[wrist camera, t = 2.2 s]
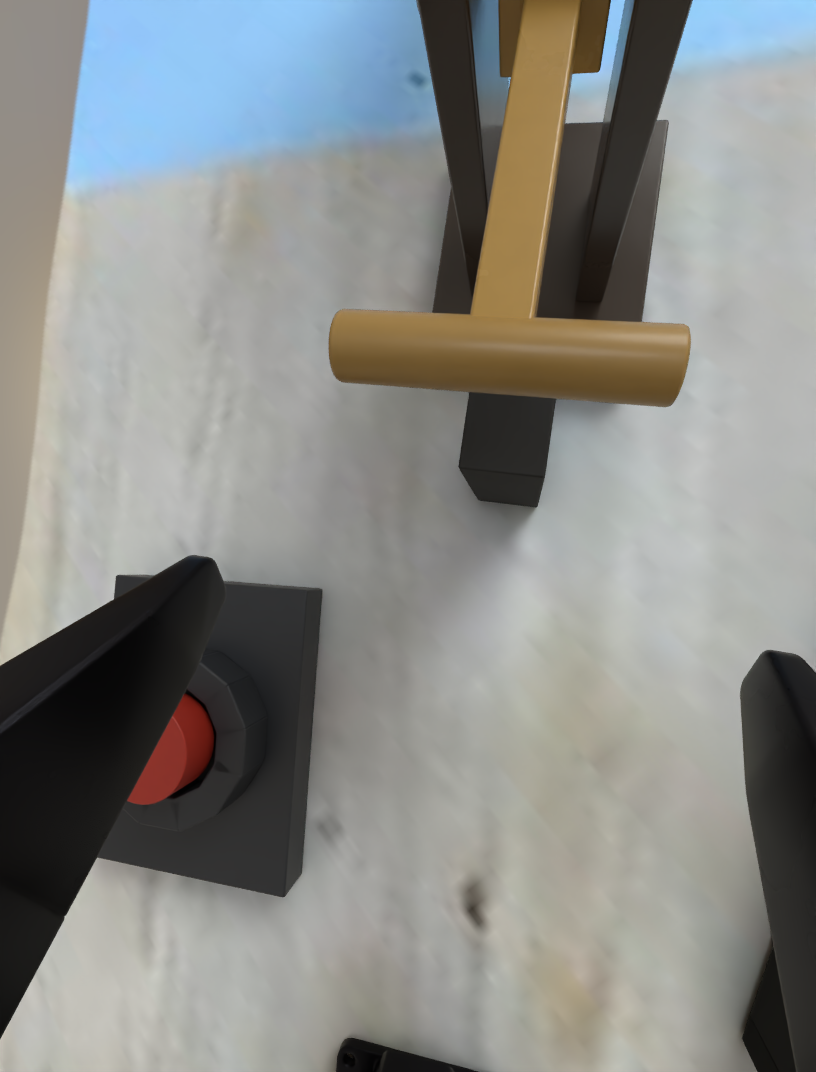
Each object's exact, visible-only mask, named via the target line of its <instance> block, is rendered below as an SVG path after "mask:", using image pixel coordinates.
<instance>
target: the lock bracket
mask: <svg viewBox="0 0 816 1072" xmlns="http://www.w3.org/2000/svg"><path fill="white" fill-rule="evenodd" d="M692 1H693V0H625V3H624V9H623V14H622V20H621V25H620V31H619V36H618V42H617V48H616V53H615V59H614V64H613V70H612V75H611V81H610V86H609V92H608V97H607V103H606V108H605V114H604V119H603V122H596V123H566V124H565V127H564V134H563V140H562V147H561V154H560V160H559V167H558V174H557V181H556V187H555V194H554V201H553V208H552V214H551V221H550V228H549V234H548V241H547V248H546V255H545V261H544V268H543V275H542V282H541V288H540V295H539V302H538V308H537V315H536V317H538V318H560V319H583V320H605V321H628V322H642V316H643V309H644V301H645V294H646V286H647V279H648V272H649V264H650V257H651V250H652V242H653V235H654V227H655V220H656V213H657V205H658V198H659V190H660V183H661V176H662V168H663V161H664V154H665V146H666V139H667V131H668V124H669V123H668V120H657V118H658V114H659V111H660V108H661V104H662V101H663V98H664V94H665V91H666V88H667V84H668V81H669V78H670V74H671V71H672V68H673V64H674V61H675V58H676V54H677V51H678V48H679V44H680V41H681V38H682V34H683V31H684V28H685V24H686V21H687V18H688V14H689V11H690V8H691V4H692ZM416 2H417V7H418V11H419V14H420V18H421V24H422V29H423V35H424V40H425V46H426V51H427V57H428V62H429V67H430V73H431V78H432V84H433V89H434V95H435V100H436V106H437V111H438V117H439V122H440V128H441V133H442V139H443V144H444V150H445V155H446V160H447V166H448V171H449V177H450V182H451V191H450V198H449V205H448V211H447V218H446V225H445V231H444V238H443V245H442V251H441V258H440V265H439V272H438V278H437V285H436V292H435V298H434V305H433V312H432V313H448V314H470V312H471V306H472V300H473V294H474V288H475V283H476V277H477V271H478V265H479V259H480V254H481V248H482V242H483V236H484V230H485V225H486V219H487V213H488V207H489V201H490V196H491V190H492V184H493V178H494V173H495V167H496V161H497V155H498V149H499V144H500V138H501V132H502V126H503V120H504V115H505V109H506V103H507V97H508V91H509V88H508V77H500V65H499V14H498V0H416Z"/></svg>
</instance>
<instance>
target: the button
mask: <svg viewBox="0 0 816 1072" xmlns="http://www.w3.org/2000/svg"><path fill="white" fill-rule="evenodd" d="M213 748H214V731H213V727H212V723H211V720H210V718H209V716H208V714H207V712H206V711H205V709H204V708H203V706H202V705H201V704H200V703H199V702H198V701H197V700H195V699H194V698H193V697H191V696H189V695H187V694H184V695H183V697H182V699H181V701H180V703H179V705H178V707H177V709H176V710H175V712H174V714H173V716H172V718H171V720H170V722H169V724H168V725H167V727H166V729H165V731H164V733H163V735H162V737H161V739H160V740H159V742H158V744H157V746H156V748H155V750H154V752H153V754H152V755H151V757H150V759H149V761H148V763H147V765H146V767H145V768H144V770H143V772H142V774H141V776H140V778H139V780H138V782H137V783H136V785H135V787H134V789H133V791H132V793H131V795H130V797H129V798H128V800H127V801H129V802H131V803H134V804H140V805H149V804H154V803H157V802H160V801H162V800H164V799H166V798H167V797H169V796H170V795H172V794H173V793H175V792H177V791H178V790H180V789H181V788H183V787H184V786H186V785H187V784H189V783H191V782H192V781H194V780H195V779H196V778H198V777H199V776H200V775H201V774H202V773H203V771H204V770H205V769H206V767H207V765H208V764H209V761H210V759H211V756H212V753H213Z"/></svg>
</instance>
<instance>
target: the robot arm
mask: <svg viewBox="0 0 816 1072" xmlns="http://www.w3.org/2000/svg"><path fill="white" fill-rule="evenodd" d="M225 599H226V586H225V584H224V581H223V579H222V576H221V574H220V572H219V569H218V567H217V564H216V562H215V561H214V560H213V559H212V558H209V557H203V556H197V555H191V556H188V557H186V558H184V559H182V560H181V561H179V562H177V563H175V564H174V565H172V566H170V567H169V568H167V569H165V570H163V571H162V572H160V573H158V574H157V575H155V576H153V577H151V578H150V579H148V580H146V581H145V582H143V583H141V584H139V585H138V586H136V587H134V588H133V589H131V590H129V591H128V592H126V593H124V594H122V595H121V596H119V597H117V598H116V599H114V600H112V601H110V602H109V603H107V604H105V605H104V606H102V607H100V608H98V609H97V610H95V611H93V612H92V613H90V614H88V615H86V616H85V617H83V618H81V619H80V620H78V621H76V622H74V623H73V624H71V625H69V626H68V627H66V628H64V629H62V630H61V631H59V632H57V633H56V634H54V635H52V636H50V637H49V638H47V639H45V640H44V641H42V642H40V643H38V644H37V645H35V646H33V647H32V648H30V649H28V650H26V651H25V652H23V653H21V654H20V655H18V656H16V657H14V658H13V659H11V660H9V661H8V662H6V663H4V664H2V665H1V666H0V1039H1V1037H2V1035H3V1033H4V1031H5V1029H6V1027H7V1025H8V1024H9V1022H10V1020H11V1018H12V1016H13V1014H14V1012H15V1011H16V1009H17V1007H18V1005H19V1003H20V1001H21V999H22V997H23V996H24V994H25V992H26V990H27V988H28V986H29V984H30V982H31V981H32V979H33V977H34V975H35V973H36V971H37V969H38V968H39V966H40V964H41V962H42V960H43V958H44V956H45V954H46V953H47V951H48V949H49V947H50V945H51V943H52V941H53V939H54V938H55V936H56V934H57V932H58V930H59V928H60V926H61V925H62V923H63V921H64V916H66V914H67V913H68V911H69V909H70V907H71V905H72V903H73V901H74V900H75V898H76V896H77V894H78V892H79V890H80V888H81V886H82V885H83V883H84V881H85V879H86V877H87V875H88V873H89V871H90V870H91V868H92V866H93V864H94V862H95V860H96V858H97V856H98V855H99V853H100V851H101V849H102V847H103V845H104V843H105V841H106V840H107V838H108V836H109V834H110V832H111V830H112V828H113V827H114V825H115V823H116V821H117V819H118V817H119V815H120V813H121V812H122V810H123V808H124V806H125V804H126V802H127V800H128V798H129V797H130V795H131V793H132V791H133V789H134V787H135V785H136V783H137V782H138V780H139V778H140V776H141V774H142V772H143V770H144V768H145V767H146V765H147V763H148V761H149V759H150V757H151V755H152V754H153V752H154V750H155V748H156V746H157V744H158V742H159V740H160V739H161V737H162V735H163V733H164V731H165V729H166V727H167V725H168V724H169V722H170V720H171V718H172V716H173V714H174V712H175V710H176V709H177V707H178V705H179V703H180V701H181V699H182V697H183V695H184V694H185V692H186V690H187V688H188V686H189V684H190V682H191V680H192V678H193V676H194V674H195V672H196V670H197V668H198V666H199V663H200V661H201V659H202V656H203V654H204V651H205V649H206V646H207V644H208V641H209V639H210V636H211V634H212V632H213V629H214V627H215V624H216V622H217V619H218V617H219V614H220V612H221V609H222V607H223V604H224V602H225ZM740 699H741V717H742V735H743V752H744V770H745V784H746V795H747V802H748V808H749V814H750V820H751V825H752V831H753V836H754V842H755V847H756V853H757V858H758V864H759V869H760V875H761V880H762V886H763V891H764V897H765V902H766V908H767V913H768V919H769V924H770V930H771V935H772V941H773V946H774V952H775V957H776V963H777V968H778V974H779V979H780V985H781V990H782V996H783V1001H784V1007H785V1012H786V1018H787V1023H788V1029H789V1034H790V1040H791V1045H792V1051H793V1056H794V1062H795V1067H796V1072H816V672H815V671H814V670H813V669H812V668H811V667H810V666H809V665H808V664H807V663H806V661H805V660H803V659H802V658H801V657H800V656H798V655H796V654H792V653H786V652H780V651H774V650H766V651H764V652H763V653H762V654H761V655H760V656H759V658H758V659H757V660H756V662H755V663H754V665H753V666H752V668H751V669H750V671H749V672H748V674H747V675H746V677H745V678H744V680H743V682H742V685H741V691H740ZM347 1053H350V1054H352V1055H353V1056H354V1057H355V1058H351V1057H350V1056H349V1055H348V1054H347ZM336 1072H478V1071H474V1070H470V1069H467V1068H463V1067H459V1066H456V1065H452V1064H448V1063H444V1062H441V1061H437V1060H433V1059H430V1058H426V1057H422V1056H418V1055H415V1054H411V1053H407V1052H404V1051H400V1050H396V1049H392V1048H389V1047H385V1046H381V1045H378V1044H374V1043H370V1042H366V1041H363V1040H359V1039H355V1038H347V1039H345V1040H344V1041H343V1043H342V1044H341V1047H340V1050H339V1053H338V1056H337V1070H336Z"/></svg>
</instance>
